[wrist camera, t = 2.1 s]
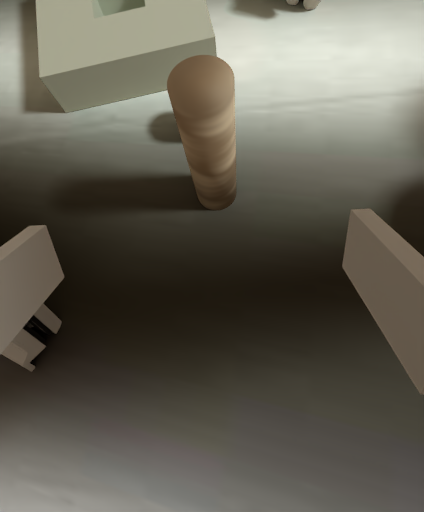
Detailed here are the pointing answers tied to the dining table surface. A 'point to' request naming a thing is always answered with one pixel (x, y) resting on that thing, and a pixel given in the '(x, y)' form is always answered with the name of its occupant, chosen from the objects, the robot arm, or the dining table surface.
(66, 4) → the sage block
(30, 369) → the magnetic window cleaner
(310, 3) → the elephant figurine
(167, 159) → the dining table surface
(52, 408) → the dining table surface
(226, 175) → the maple pin
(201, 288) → the dining table surface
